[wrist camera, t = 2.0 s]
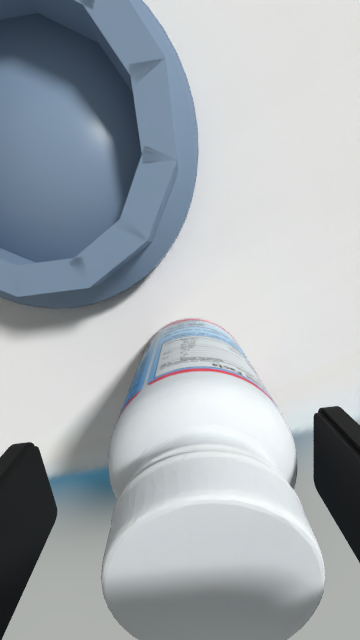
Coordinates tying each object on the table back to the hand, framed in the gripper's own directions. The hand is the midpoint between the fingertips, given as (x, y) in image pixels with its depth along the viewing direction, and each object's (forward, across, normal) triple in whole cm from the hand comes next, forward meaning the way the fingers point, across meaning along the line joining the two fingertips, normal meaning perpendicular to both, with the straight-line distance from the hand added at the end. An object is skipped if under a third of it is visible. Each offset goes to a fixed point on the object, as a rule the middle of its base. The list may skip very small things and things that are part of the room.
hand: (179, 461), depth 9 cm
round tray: (+8, +5, -12) cm, 15 cm away
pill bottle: (+8, -1, 0) cm, 8 cm away
